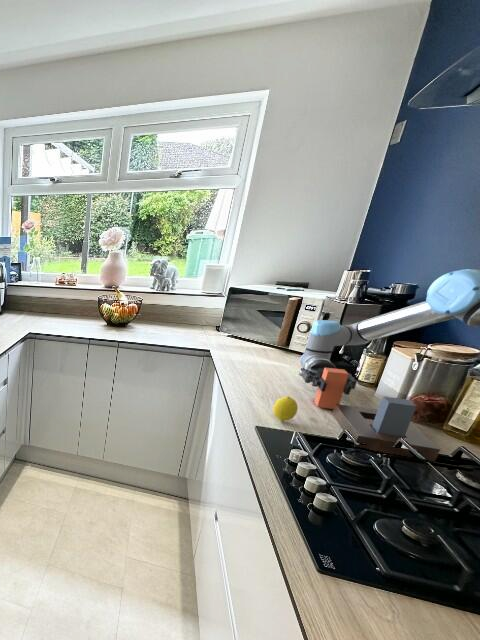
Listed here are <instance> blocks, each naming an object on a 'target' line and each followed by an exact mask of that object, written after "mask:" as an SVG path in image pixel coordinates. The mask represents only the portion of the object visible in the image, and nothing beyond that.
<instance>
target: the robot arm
mask: <svg viewBox="0 0 480 640" xmlns="http://www.w3.org/2000/svg"><path fill="white" fill-rule="evenodd" d="M456 318H457V319H458V320H459V321H461V322H462V323H465V324H466V325H468V326H469V327H470V328H471V327H472V328H477V327H480V269H471V268H466V269H465V268H464V269H460V270H453V271H450V272H448V273H445V274H443V275H441V276H439V277H438V278H437V279H435V280H434V281H433V282H432V283H431V284H430V286H429V288H428V289H427V292H426V298H425V301H420V302H418V303H414V304H412V305H409V306H406V307H403V308H400V309H396V310H392V311H389V312H386V313H383V314H379V315H376V316H374V317H371V318H367V319H364V320H361V321H358V322H355V323H351V324H344V325H343V324H342V325H341V323H340V322H339V321H336V320H328V319H324V320H323V319H318V320H315V321H314V322H313V324H312V326H311V329H310V331H309V336H308V340H307V343H306V347H305V350H304V353H303V354H302V355H301V357H300V365H301V368H300V371H299V374H298V375H299V376H300V377H302V379H303V381H304V383H306V384H310V383H311V386H312V387H315V388H317V387H318V388H320V390H321V391H323V392H325V389H326V385H327V383H326V381H325V380H324V379H323V378H322V374H323V371H324V368H334V369H337V367H336V365H335V364H334V363H333V362H332V361H331V356H332V354H333V352H334V351H333V350H334V348H335V347H341V346H342V347H344V346H360V345H366V344H368V343H370V342H371V341H373V340H377V339H380V338H385V337H388V336H392V335H396V334H399V333H404V332H407V331H411V330H415V329H420V328H423V327H426V326H427V327H428V326H430V325H434V324H438V323H442V322H446V321H450V320H453V319H456ZM347 373H348V372H347ZM348 374H349V375H348V378H347V381H346V384H345V388H344V391H343V394H344V395H346V396H349V395H350V393H351V390H355V389H356V386H357V383H358V380H356V379H355V378H354V377H353V376H352V373H350V372H349V373H348Z"/></svg>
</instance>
